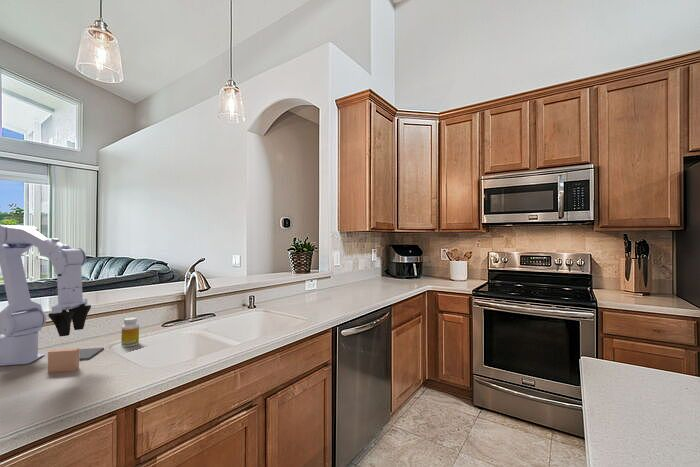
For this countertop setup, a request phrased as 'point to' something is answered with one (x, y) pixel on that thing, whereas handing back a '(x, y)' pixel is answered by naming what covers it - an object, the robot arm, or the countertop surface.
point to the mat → (88, 353)
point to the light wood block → (63, 360)
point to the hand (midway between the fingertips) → (72, 332)
